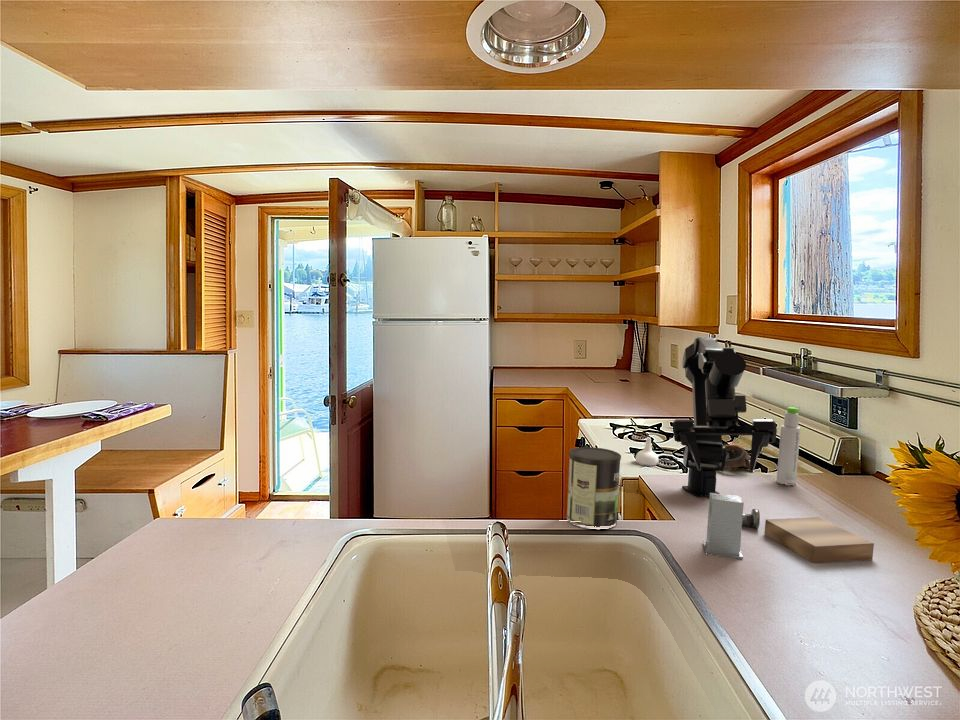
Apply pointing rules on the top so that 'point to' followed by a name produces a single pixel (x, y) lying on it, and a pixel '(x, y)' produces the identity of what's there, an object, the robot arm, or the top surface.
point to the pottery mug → (736, 457)
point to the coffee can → (593, 486)
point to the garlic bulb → (647, 455)
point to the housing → (724, 526)
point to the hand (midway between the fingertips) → (725, 470)
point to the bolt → (751, 519)
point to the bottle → (789, 448)
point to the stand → (819, 540)
